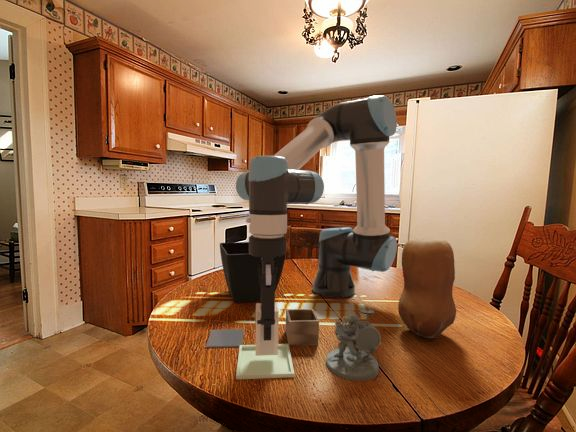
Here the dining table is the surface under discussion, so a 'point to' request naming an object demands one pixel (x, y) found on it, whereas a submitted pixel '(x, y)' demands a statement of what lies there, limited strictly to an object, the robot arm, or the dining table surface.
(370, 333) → the figurine
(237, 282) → the flower pot
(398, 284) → the dining table surface
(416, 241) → the butternut squash
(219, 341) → the slate coaster
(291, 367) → the green tray
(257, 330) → the cream square pillar
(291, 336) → the walnut open box
